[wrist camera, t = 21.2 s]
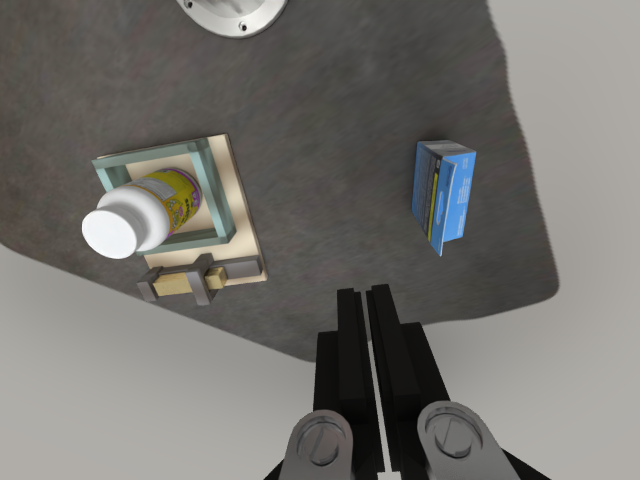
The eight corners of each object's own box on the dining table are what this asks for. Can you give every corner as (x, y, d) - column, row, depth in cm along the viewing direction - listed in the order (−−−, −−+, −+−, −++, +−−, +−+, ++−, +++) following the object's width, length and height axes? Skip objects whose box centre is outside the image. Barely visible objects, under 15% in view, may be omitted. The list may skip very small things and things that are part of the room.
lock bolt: (160, 275, 41) (152, 283, 39) (223, 266, 40) (218, 275, 38) (166, 287, 42) (158, 296, 40) (227, 279, 41) (222, 288, 39)
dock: (104, 155, 37) (64, 166, 32) (227, 133, 36) (207, 140, 30) (166, 288, 46) (143, 315, 40) (268, 275, 44) (258, 301, 39)
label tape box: (440, 210, 39) (483, 256, 28) (408, 211, 39) (438, 258, 28) (449, 139, 35) (503, 159, 24) (413, 140, 35) (451, 162, 24)
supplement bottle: (190, 227, 40) (131, 281, 28) (142, 198, 38) (59, 243, 27) (212, 187, 37) (158, 229, 26) (163, 154, 36) (82, 183, 24)
